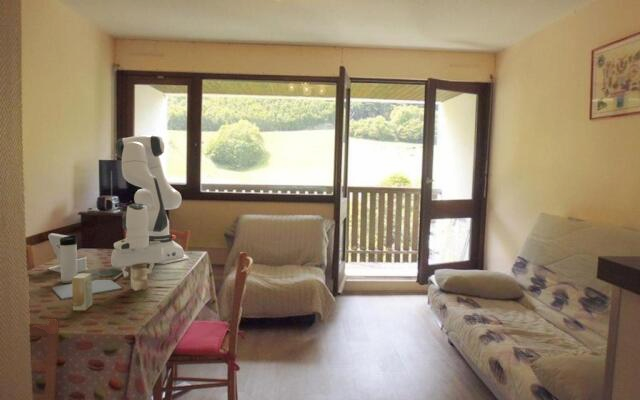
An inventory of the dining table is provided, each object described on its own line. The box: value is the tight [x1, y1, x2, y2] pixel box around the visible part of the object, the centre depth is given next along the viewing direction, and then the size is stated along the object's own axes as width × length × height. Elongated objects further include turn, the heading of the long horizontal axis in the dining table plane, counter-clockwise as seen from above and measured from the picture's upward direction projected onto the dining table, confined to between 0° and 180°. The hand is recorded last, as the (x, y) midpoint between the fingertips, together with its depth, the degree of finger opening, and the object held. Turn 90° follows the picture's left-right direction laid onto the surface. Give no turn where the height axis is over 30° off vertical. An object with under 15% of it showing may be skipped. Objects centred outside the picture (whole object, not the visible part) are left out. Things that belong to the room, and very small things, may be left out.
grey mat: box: [51, 279, 123, 301], centre depth 175 cm, size 22×18×1 cm
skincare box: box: [71, 272, 93, 311], centre depth 153 cm, size 6×4×12 cm
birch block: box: [130, 263, 148, 291], centre depth 177 cm, size 5×5×11 cm
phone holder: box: [47, 232, 89, 274], centre depth 201 cm, size 17×10×18 cm, turn 64°
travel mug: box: [59, 235, 78, 284], centre depth 183 cm, size 6×7×20 cm
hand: (137, 274), depth 177 cm, fingers open, 8 cm apart
